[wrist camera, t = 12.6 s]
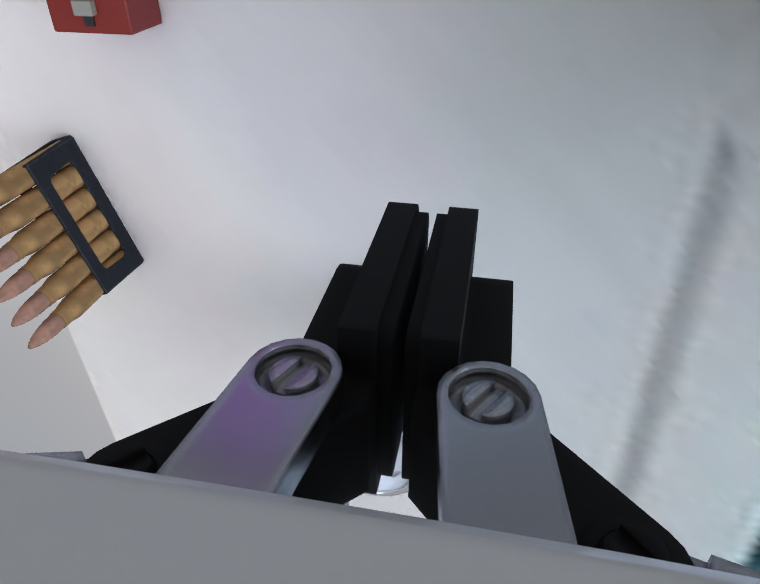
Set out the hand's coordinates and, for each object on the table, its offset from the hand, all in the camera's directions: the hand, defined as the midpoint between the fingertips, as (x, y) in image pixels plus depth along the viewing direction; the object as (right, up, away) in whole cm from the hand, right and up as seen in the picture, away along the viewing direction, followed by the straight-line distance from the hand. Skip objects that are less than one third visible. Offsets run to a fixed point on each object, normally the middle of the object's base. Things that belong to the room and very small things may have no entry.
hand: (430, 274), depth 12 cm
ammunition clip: (-22, +6, +35) cm, 42 cm away
